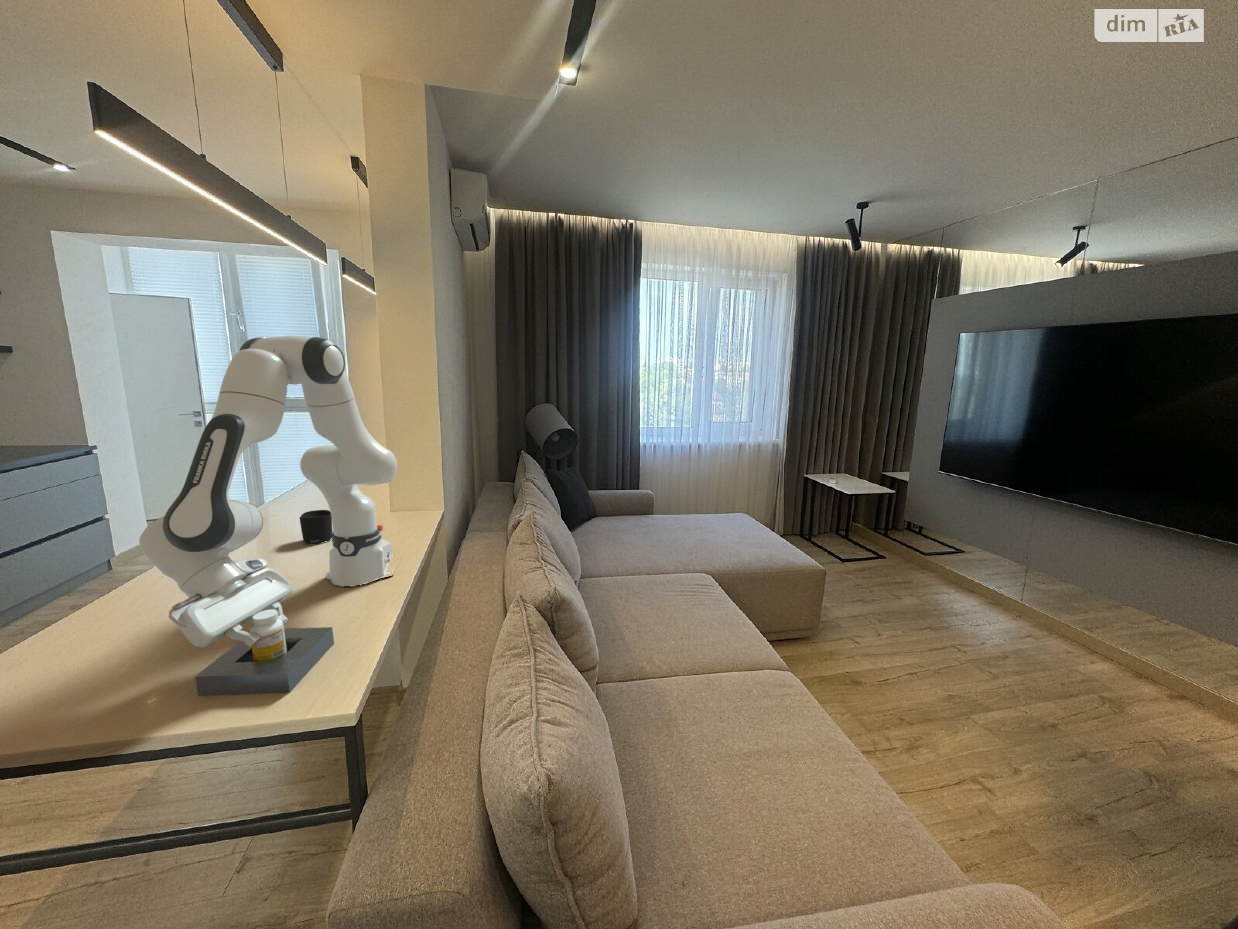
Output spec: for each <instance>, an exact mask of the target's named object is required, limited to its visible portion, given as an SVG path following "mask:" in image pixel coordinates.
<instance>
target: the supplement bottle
mask: <svg viewBox="0 0 1238 929" xmlns="http://www.w3.org/2000/svg"><path fill="white" fill-rule="evenodd" d="M252 624H253V625H252V626H251V627H250V629H249V633H253V632H254V631H255V632H256V633H257V635H259V636H260V640H258V642H256V643H255V644H253V645H252V653H253V660H254V662H266V661H279V660H280V659H281V658H282V657H283V656H284V655H285V654H286V653H287V649H286V641H285V633H284V628H285V624H284V625H283V622H282V621H281V620H280V619H278V612H277V610H273V609H271V610H264V611H261V612H258V613H257V614H255V615H254V616H253V619H252Z"/></svg>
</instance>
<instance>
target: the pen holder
mask: <svg viewBox="0 0 1238 929" xmlns="http://www.w3.org/2000/svg"><path fill="white" fill-rule="evenodd" d="M299 524H300V528H301V535H302V540H303V541H302V542H303V543H304V544H305V545H309V544H315V545H320V544H319V543H322V542H325V541H328V542H330V541H331V540H332V539H331V538H332V534H333V524H332V517H331V511H330V509H316V510H310V511H306V512H304V513H302V514H301V515H300V517H299ZM330 539H331V540H330ZM329 540H330V541H329ZM325 543H326V542H325ZM322 544H323V543H322Z"/></svg>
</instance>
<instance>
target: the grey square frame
mask: <svg viewBox="0 0 1238 929" xmlns="http://www.w3.org/2000/svg"><path fill="white" fill-rule="evenodd" d="M333 631H334V629H333V627H332V626H331V627H327V626H326V627H322V626H321V627H295V628H294V627H293V628H291V627H290V628H289V627H287V628H285V627H284V633H285V641H286V649H287V653H286V654H285V655H284V656H283V657H282V658H281V659H280V660H279V661H266V662H254V660H253V653H252V646H248V645H247V644H246V643H244V642H243V641H238V642H237V643H236V644H235V645H232V647H230V649H228V650H227V651H226V652H224V653H223V654H222V655H220V656H219V657H218V658H216V659H215V660H214V661H213V662H212V663H210V664H209V665H208V666H206V667H205V668H204V669H203V670H201V671H200V672H199V673H198V674H196V675H195V676H194V680H195V685H196V691H197V692H196V693H197V696H198V697H205V696H208V697H209V696H211V697H212V696H230V695H231V696H234V695H257V694H281V693H283V694H284V693H285V694H286V693H291V692H292V690H293V689H295V688H296V686H297V685H298V684H299V683H300V682H301V681H302V680H303V678H305V676H306V675H307V674H308V673H309V672H310V671H311V670H312V669H313V667H315V665H316V664H317V663H319V661H320V660H321V659H322V658H323V657H324V655H325V654H326V653H327V652H328V651H329V650H331V648H332V647H333V646H334V644H335V639H334V632H333Z"/></svg>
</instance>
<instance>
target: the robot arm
mask: <svg viewBox="0 0 1238 929" xmlns="http://www.w3.org/2000/svg"><path fill="white" fill-rule="evenodd" d="M345 367H346V360H345V355H344V353H343V351H342V350H341V348H340V347H339V346H338V345H337V344H336V343H335V342H334V341H333V340H330V339H327V338H325V337H324V338H323V337H320V336H319V337H318V336H312V337H311V336H310V337H309V336H301V335H285V336H271V337H268V336H259V337H254V338H250V339H248V340H246V341H244V342H243V344H242V345H241V347H240V348H239V351H237V352H236V353H235V354H234V355H233V357H232V359H231V360H230V362H229V364H228V366H227V369H226V370H225V374H224V376H223V379H222V382H221V386H220V390H219V393H218V397H217V403H216V405H215V408H214V412H213V414H212V417H211V419H210V420H209V421H208V423H207V424H206V426H205V428H204V429H203V432H202V434H201V437H200V439H199V441H198V444H197V446H196V450H195V452H194V456H193V458H192V461H191V464H190V467H189V470H188V473H187V476H186V479H185V482H184V484H183V487H182V489H181V491H180V493H179V494H178V496H177V497H176V498H175V500H174V501H173V502H172V503H171V505H170V506H169V508H168V509H167V510H166V511H165V514H164V516H162V517H160V518H158V519H156V520H154V521H153V522H152V523H150V524H149V525H147V527H146V528H145V529H144V530H143V531H142V533H141V535H140V537H139V539H138V542H139V547H140V549H141V551H142V552H143V554H144V556H146V558H147V559H148V561H150V562H151V563H152V564H153V565H154V566H155V567H156V568H157V570H159V572H161V573H162V574H163V575H164V576H166V577H167V578H171V579H172V580H173V581H175V582H176V585H177V586H178V588H179V590H180V591H181V592H182V593H184V595H186V596H187V597H188V598H187V599H185V600H183V601H181V602H178V603H175V604H174V605H172V606H171V609H170V610H169V612H168V618H169V620H171V621H172V622H173V623H174V625H176V626H177V627H178V629H179V630H180V631H181V633H182V634H183V635H184V636H185V638H186V639H187V640H188V641H189V642H190V644H191V645H193V646H194V647H197V648H203V649H204V648H206V647H207V646H209V645H211V644H212V643H214V642H216V641H217V640H220V639H221V638H223V637H224V636H227V637H228V638H229V639H230V640H234V641H238V642H240V641H243V642H244V643H246V644H247V645H248V646H252V645H253V644H255V643H256V642H258V640H260V636H259V635H257V633H256V632H255V631H254V632H253V633H250V632H248V631H245V630H242V629H243V625H245V624H246V623H248V622H250V621H252V620H253V616H254V615H255V614H257V613H258V612H261V611H264V610H271V609H273V610H277V612H278V619H280V620H281V621H282V622H283V625H284V626H285V625H286V624H287V622H289V618H288V617H287V616H286V615H285V614H284V611H283V606H282V604H281V602H283V601H285V600H287V599H288V597H290V595H291V594H292V593H293V592H294V586H293V584H292V583H291V582H290V581H289V580H288V579H287V578H286V577H285V576H284V575H283V574H282V573H280V572H279V571H278V570H277V569H275V568H272V567H267V566H268V562H267V560H265V559H264V558H262V557H261V558H253V559H252V558H251V559H243V560H240V559H239V560H233V559H231V557H229V554H230V553H232V552H234V551H236V550H238V549H240V548H242V547H243V546H246V545H247V544H248V543H250V542H251V541H253V540H255V539H256V537H258V536H259V534H260V533H261V531H262V529H263V525H264V518H263V515H262V513H261V510H259V508H257V507H256V506H255V505H254V504H252V503H250V502H246V501H240V500H235V499H229V491H230V489H231V485H232V482H233V479H234V476H235V472H236V468H237V465H238V461H239V459H240V456H242V453H243V452H244V451H245V450H246V449H248V448H249V447H250V446H252V445H254V444H258V443H261V442H264V441H266V440H269V439H270V438H272V437H273V436H275V435H276V434H277V432H278V430H279V428H280V426H281V424H282V422H283V418H284V413H285V408H286V401H287V393H288V386H289V385H301V388H302V392H303V396H304V400H305V403H306V407H307V410H308V413H309V417H310V419H311V423H312V425H313V429H314V431H316V433H317V434H318V435H319V436H321V437H322V438H324V439H326V440H328V441H330V442H331V443H332V444H333V445H331V444H327V445H326V444H325V445H321V446H315V447H310V448H308V449H306V451H305V452H304V453H303V455H302V456H301V459H300V465H299V466H300V470H301V473H302V474H303V476H304V477H305V479H307V480H308V481H310V482H311V483H312V484H314V485H315V486H316V487H317V488H318V489H319V492H321V493H322V495H323V496H324V499H326V500H325V501H326V502H327V504H328V508H329V511H330V512H331V517H332V539H331V541H332V547H333V548H331V549H330V551H329V572H327V573H326V574H325V579H327V580H329V581H331V583H332V584H333V585H334V586H337V585H338V587H344V586H350V587H352V586H351V585H360V584H363V583H366V582H370V581H373V580H374V579H376V578H380V577H382V576H384V575H389V574H392V573H393V572H394V570H393V571H391V572H392V573H390V572H387V567H388V565H389V562H390V561H391V558H392V557H393V554H394V552H393V546H392V543H391V542H389V541H388V540H386V539H384V538H383V537H382V535H381V534H382V533H381V532H383V530H384V525H383V524H382V523H381V524H378V521H377V520H378V519H377V518H378V517H377V508H376V504H375V502H374V500H373V499H372V498H370V497H369V496H367V495H365V494H364V493H363V492H362V490H360V488H359V487H358V486H376V485H383V484H388V483H390V482H391V481H392V480H393V478H395V476H396V474H397V471H398V459H397V458H396V456H395V454H394V453H393V452H392V451H391V450H390V449H387V448H386V447H384V446H382V444H380V443H379V442H378V441H377V440H376V439H375V438H374V436H372V435H371V433H370V432H369V431H368V430H367V428H366V426H365V424H364V422H363V420H362V418H361V414H360V411H359V408H358V405H357V402H356V397H355V394H354V391H353V387H352V384H351V381H350V379H349V377H348V375H347V372H346V370H345V369H346V368H345ZM360 586H361V585H360Z"/></svg>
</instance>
